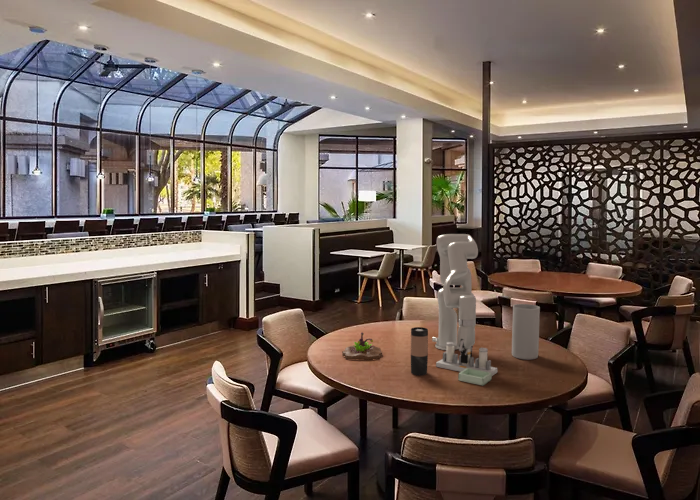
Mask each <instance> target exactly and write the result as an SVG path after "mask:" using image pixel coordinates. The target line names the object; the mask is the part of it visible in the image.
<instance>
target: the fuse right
mask: <svg viewBox="0 0 700 500" xmlns="http://www.w3.org/2000/svg"><path fill="white" fill-rule="evenodd" d="M488 351H489V350H488V347H479V348H478V358H479V369H481V370H486V369H487V361H488Z"/></svg>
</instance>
